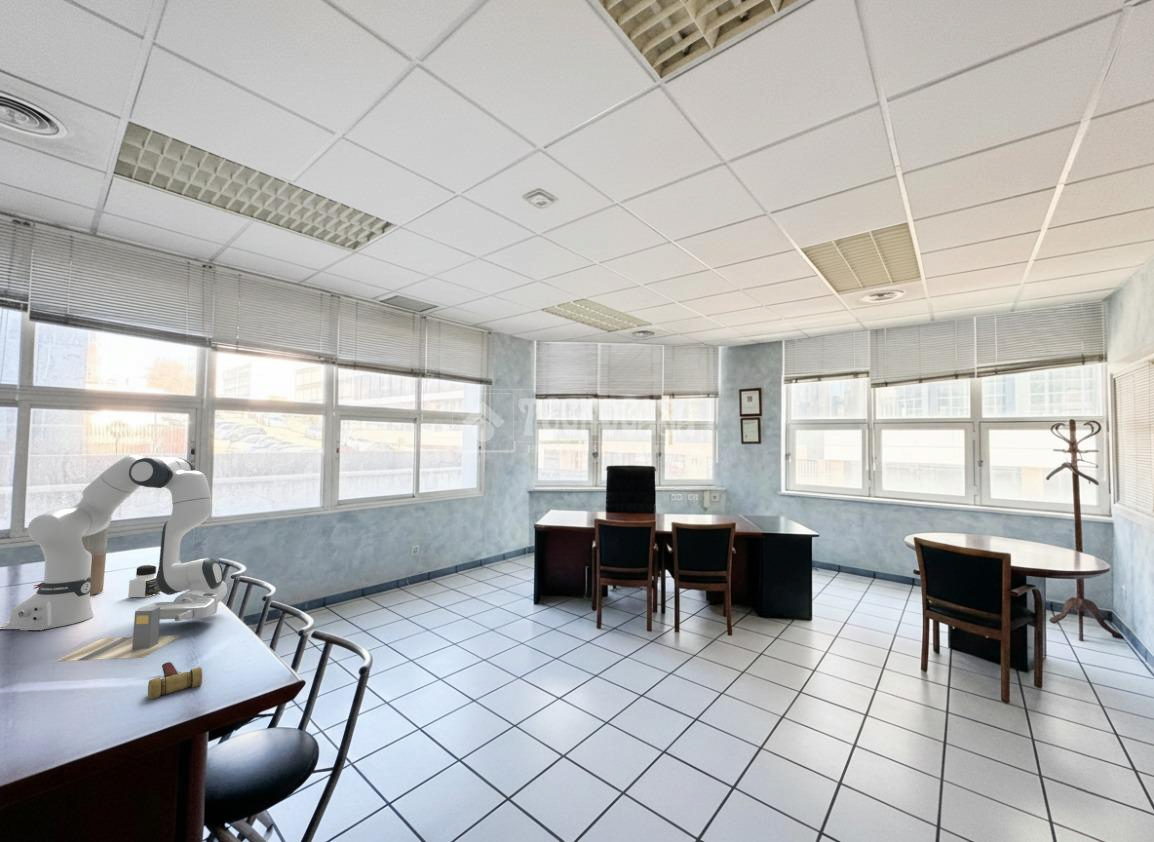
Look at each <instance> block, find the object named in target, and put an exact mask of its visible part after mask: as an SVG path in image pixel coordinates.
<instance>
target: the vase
mask: <svg viewBox="0 0 1154 842" xmlns="http://www.w3.org/2000/svg"><path fill="white" fill-rule="evenodd" d="M108 533H109V526H108V527H107V528H105V529H104V530H102V531H100V532H98V533H96V534H93V535H90V536H85V537H82V542H83V546H84V548H85V550H86V551H88V552H90V553H91V555H92V562H91V574H90V576H92V584H91V589H90V595H92V596H94V595H93V594H96V595H98V594H97V593H99V594H101V593H100V592H102V591H103V592H104V584H105V573H106V560H107V547H108ZM103 592H102V593H103Z"/></svg>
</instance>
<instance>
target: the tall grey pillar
mask: <svg viewBox="0 0 1154 842" xmlns="http://www.w3.org/2000/svg"><path fill="white" fill-rule="evenodd" d="M142 607H143V608H141V607H140V608H141V609H139V608H138V609H139V610H138V609H137V610H135V611H134V620H133V631H132V632H133V635H132V637H133V644H132V649H149V648H151V647H153V646H155V645H156V644H158V637H159V636H160V635H159V634H160V622H161V619H160V609H161V607H144V606H142Z"/></svg>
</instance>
